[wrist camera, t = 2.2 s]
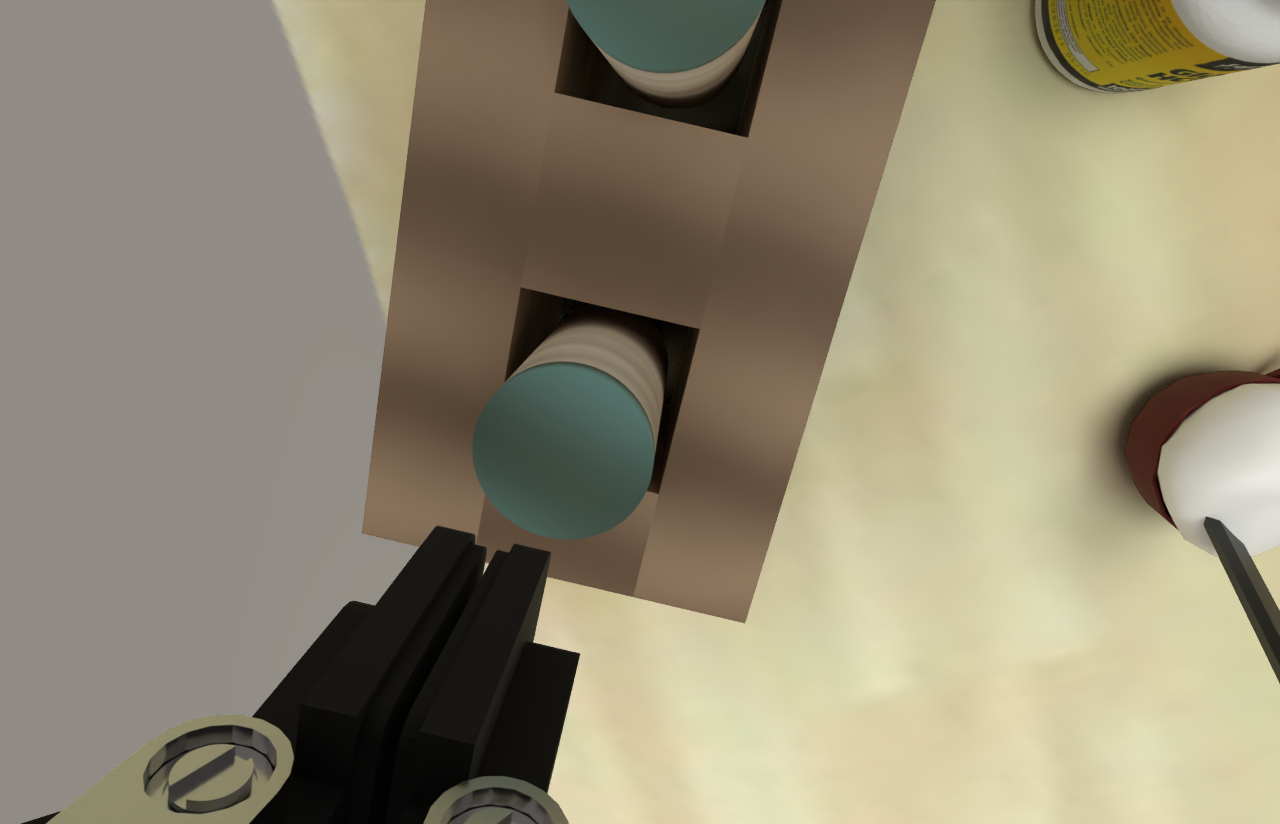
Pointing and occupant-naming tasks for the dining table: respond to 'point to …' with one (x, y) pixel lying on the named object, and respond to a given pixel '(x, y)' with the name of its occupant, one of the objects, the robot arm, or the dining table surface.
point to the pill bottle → (1156, 40)
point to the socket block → (631, 270)
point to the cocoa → (1218, 477)
